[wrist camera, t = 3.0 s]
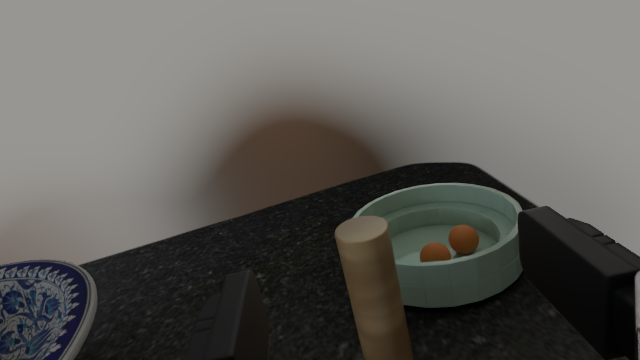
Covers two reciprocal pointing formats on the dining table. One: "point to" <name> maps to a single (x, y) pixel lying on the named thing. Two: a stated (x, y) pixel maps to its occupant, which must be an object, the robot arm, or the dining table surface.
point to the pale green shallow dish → (434, 226)
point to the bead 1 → (434, 252)
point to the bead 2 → (463, 239)
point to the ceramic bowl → (45, 309)
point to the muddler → (374, 288)
